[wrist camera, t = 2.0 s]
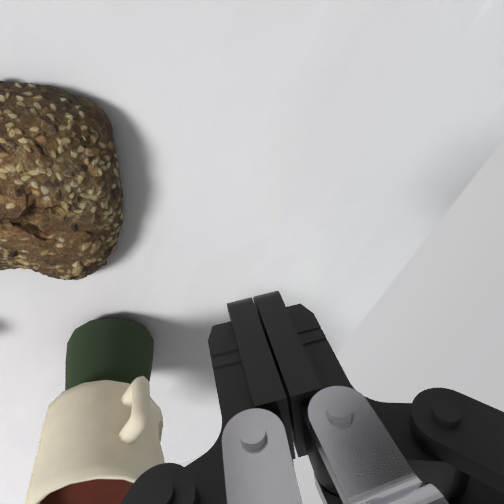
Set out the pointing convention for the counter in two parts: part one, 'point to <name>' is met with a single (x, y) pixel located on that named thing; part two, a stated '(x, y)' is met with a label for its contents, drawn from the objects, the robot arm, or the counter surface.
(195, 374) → the counter surface
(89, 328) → the character mug
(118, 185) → the bread roll
